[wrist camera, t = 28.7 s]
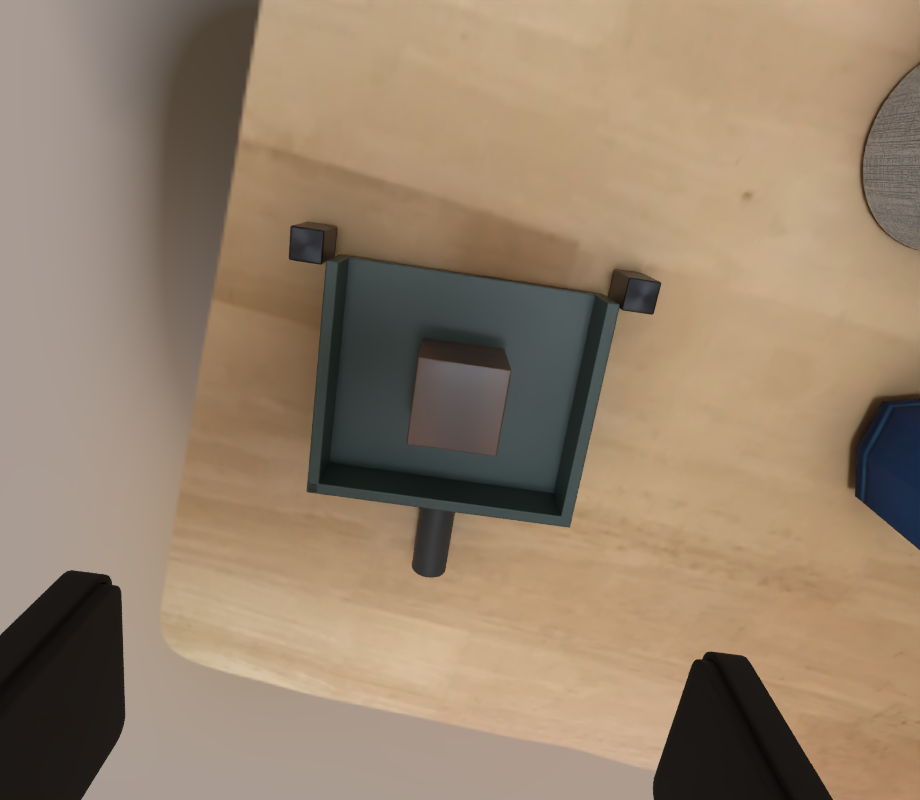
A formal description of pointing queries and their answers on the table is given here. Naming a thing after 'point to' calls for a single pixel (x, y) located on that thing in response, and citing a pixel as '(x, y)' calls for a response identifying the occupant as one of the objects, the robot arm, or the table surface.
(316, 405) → the dustpan
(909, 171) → the planter
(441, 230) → the table surface
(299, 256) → the pair of dark blocks
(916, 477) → the book
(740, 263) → the table surface
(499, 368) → the block
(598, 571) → the table surface
